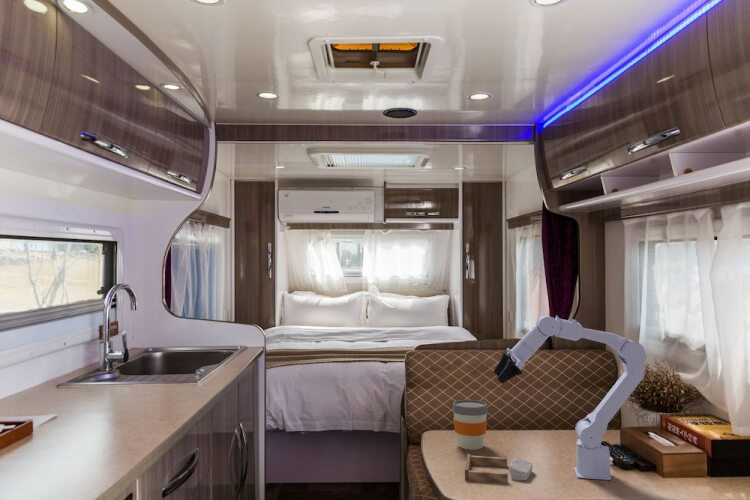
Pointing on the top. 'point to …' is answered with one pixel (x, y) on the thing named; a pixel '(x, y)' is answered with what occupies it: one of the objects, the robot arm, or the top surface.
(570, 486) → the top surface
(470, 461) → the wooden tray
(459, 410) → the reusable coffee cup
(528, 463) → the white rough stone
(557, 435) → the top surface
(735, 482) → the top surface
